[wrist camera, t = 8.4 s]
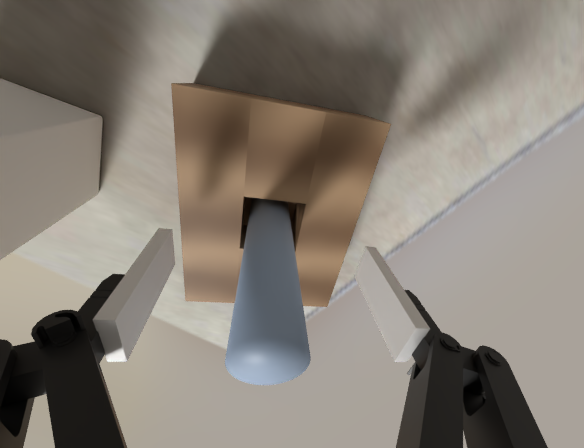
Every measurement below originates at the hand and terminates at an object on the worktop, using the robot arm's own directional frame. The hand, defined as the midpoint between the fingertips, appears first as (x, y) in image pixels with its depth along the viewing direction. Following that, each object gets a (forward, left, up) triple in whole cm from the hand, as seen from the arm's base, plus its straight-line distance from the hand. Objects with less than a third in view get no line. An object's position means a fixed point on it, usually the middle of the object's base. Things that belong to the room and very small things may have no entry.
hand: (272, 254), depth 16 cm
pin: (0, 0, -8) cm, 8 cm away
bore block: (0, 0, -9) cm, 9 cm away
